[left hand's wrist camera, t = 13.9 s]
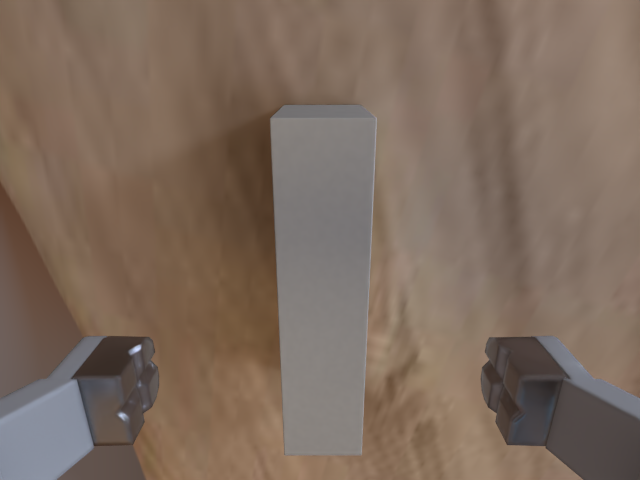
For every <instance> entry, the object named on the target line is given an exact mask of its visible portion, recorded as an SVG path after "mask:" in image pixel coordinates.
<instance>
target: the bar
mask: <svg viewBox="0 0 640 480" xmlns="http://www.w3.org/2000/svg"><path fill="white" fill-rule="evenodd" d="M376 126H377V118H376V117H375V116H373V115H372V114H371V113H370V112H369V111H368V110H366V109H365V108H364V107H363V106H362V105H283V106H282V107H281V108H280V109H279V110H278V111H277V112H276V113H275V114H274V115H273V116H272V117H271V118H270V135H271V158H272V181H273V204H274V227H275V250H276V273H277V296H278V319H279V342H280V365H281V388H282V411H283V434H284V455H361V454H362V433H363V411H364V389H365V367H366V345H367V323H368V301H369V279H370V258H371V236H372V214H373V192H374V170H375V148H376Z"/></svg>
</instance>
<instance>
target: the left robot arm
mask: <svg viewBox="0 0 640 480" xmlns="http://www.w3.org/2000/svg"><path fill="white" fill-rule="evenodd" d="M154 353H155V349H154V344H153V340H152V339H151V338H150V337H129V336H87V337H84V338H82V339H81V340H80V342H79V343H78V344H77V345H76V346H75V347H74V348H73V349H72V351H71V352H70V353H69V354H68V355H67V356H66V357H65V358H64V359H63V361H62V362H61V363H60V364H59V365H58V366H57V367H56V368H55V369H54V371H53V372H52V373H51V374H50V375H49V376H48V377H47V378H46V379H38V380H36V381H34V382H32V383H30V384H28V385H26V386H24V387H22V388H20V389H18V390H16V391H14V392H12V393H10V394H8V395H6V396H4V397H2V398H0V480H57V479H58V478H59V477H60V476H61V475H63V474H64V473H65V472H66V471H67V470H69V469H70V468H71V467H72V466H73V465H75V464H76V463H77V462H78V461H79V460H81V459H82V458H83V457H84V456H85V455H87V454H88V453H89V452H90V451H91V450H93V449H94V446H112V445H133V444H134V442H135V440H136V438H137V436H138V434H139V432H140V430H141V428H142V426H143V424H144V422H145V421H144V416H143V413H144V412H146V411H147V410H149V409H150V408H151V407H152V406H153V404H154V402H155V400H156V397H157V392H158V388H159V372H158V367H157V366H156V365H155V364H154V363H153V362H152V361H151V358H152V356H153V355H154ZM485 353H486V355H487V356H488V358H489V361H488V362H487V363H486V364H485V365H484V366H483V367H482V373H481V388H482V393H483V397H484V400H485V402H486V404H487V406H488V408H490V409H491V410H493V411H494V412H496V413H497V416H496V421H495V422H496V424H497V426H498V428H499V430H500V432H501V434H502V436H503V438H504V440H505V442H506V444H507V445H527V446H546V449H548V450H549V451H550V452H551V453H552V454H554V455H555V456H556V457H557V458H558V459H560V460H561V461H562V462H563V463H564V464H566V465H567V466H568V467H569V468H570V469H572V470H573V471H574V472H575V473H576V474H578V475H579V476H580V477H581V478H582V479H584V480H640V398H638V397H636V396H634V395H632V394H630V393H628V392H626V391H624V390H622V389H620V388H618V387H616V386H614V385H612V384H610V383H608V382H606V381H604V380H602V379H594V378H593V377H592V376H591V375H590V374H589V373H588V372H587V371H586V369H585V368H584V367H583V366H582V365H581V364H580V363H579V362H578V360H577V359H576V358H575V357H574V356H573V355H572V354H571V353H570V352H569V350H568V349H567V348H566V347H565V346H564V345H563V344H562V343H561V342H560V340H559V339H558V338H556V337H554V336H531V337H489V339H488V341H487V343H486V349H485Z"/></svg>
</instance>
